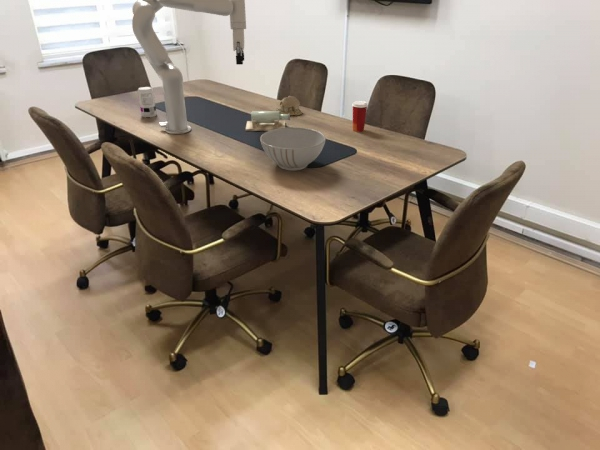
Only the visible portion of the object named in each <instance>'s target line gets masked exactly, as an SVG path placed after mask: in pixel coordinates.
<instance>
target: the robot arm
mask: <svg viewBox="0 0 600 450" xmlns="http://www.w3.org/2000/svg"><path fill="white" fill-rule="evenodd" d="M164 7H165V8H170V9H177V10H183V11H189V12H194V13H205V14H211V15H216V16H222V17H227V16H229V25H230V30H232V47H233V48H232V50H233V52H235V64H236V65H243V64H244V61H245V52H244V51H245V30H246V29H247V19H246V18H247V17H246V1H245V0H136V1H135V2H134V3H133V5H132V14H133V15H132V23H131V25H132V26H131V27H132V32H133V34H134V36H135V38H136V40H137V42H138V43H139V45H140V47H141V48H142V49H143V51H144V56H145V59H146V60H147V61H148V63H149V65H151V67H152V69H153V70H154V73H156V75H157V76H158V78H159V79H160V80H161V82H162V90H163V91H162V92H163V93H162V94H163V101H164V106H165V107H164V108H165V113H166V121H165V122H163V121H162V122H161V121H159V123H158V125H159V127H161V128H165V133H168V134H171V135H179V134H180V135H182V134H185V133H189V132H190V131H191V130H192V127H191V126H190V125H189V124H188V119H187V118H188V117H187V110H186V102H185V101H186V100H185V94H184V78H183V74H182V71H181V69H179V68H178V67H177V66H176V65H175V64H174V62H173V60H172V59H171V58H170V56H169V53H168V50H167V49H166V48H165V46H164V45H163V43H162V41H161V40H160V39H159V37H158V36H157V34H156V32H155V30H154V27H153V22H154V20H155V17H156V13H158V12H160V10H161V9H162V8H164Z"/></svg>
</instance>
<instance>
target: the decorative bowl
mask: <svg viewBox="0 0 600 450" xmlns="http://www.w3.org/2000/svg"><path fill="white" fill-rule="evenodd" d="M259 140H260V145H261V147H262V149H263V151H264V153H265V154H266V156H267V157H268V158H269V159H270V160H271V161H272V162H273V163H275V164H277V165H278V167H279V168H280V169H282V170H285V171H300V170H301V171H302V170H303V169H306V168H307V167H308V165H309V164H311V163H312V162H314V161H315V160H316V159H317V157H318V156H319V155H320V154H321V152H322V150H323V148H324V147H325V144H326V136H325V135H324V133H322V132H321V131H318V130H316V129H312V128H308V127H307V128H306V127H299V126H298V127H297V126H294V127H293V126H292V127H286V126H285V128H278V129H273V130H270V131H264V133H262V134H261V135H260V137H259Z"/></svg>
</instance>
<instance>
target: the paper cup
mask: <svg viewBox="0 0 600 450" xmlns="http://www.w3.org/2000/svg"><path fill="white" fill-rule="evenodd" d="M351 106H352V131H353V132H355V133H361V132H364V131H365V125H366V117H367V109H368V106H369V105H368V102H367V101H365V100H363V101H362V100H356V101H353V102H352V104H351Z"/></svg>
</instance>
